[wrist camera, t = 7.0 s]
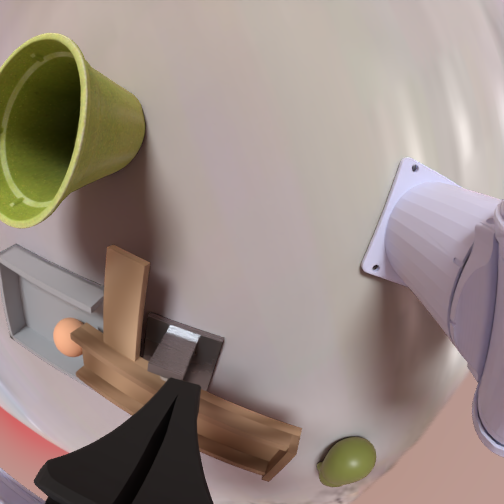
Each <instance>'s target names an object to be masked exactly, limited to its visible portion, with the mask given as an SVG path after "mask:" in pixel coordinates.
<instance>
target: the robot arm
mask: <svg viewBox="0 0 504 504" xmlns="http://www.w3.org/2000/svg"><path fill="white" fill-rule="evenodd" d="M413 165H415V166H416V170H415V172H413V171H412V166H413ZM374 265H378V267H377V269H375V270H372V268H373V266H374ZM361 267H362V269H363V270H364V272H366V273H369V274H372V275H375V276H378V277H381V278H383V279H386V280H389V281H392V282H395V283H398V284H401V285H404V286H406V287H409V288H410V289H411V291H412V292H413V293H414V294H415V295H416V297H417V298H418V299H419V300H420V302H421V303H422V304H423V305H424V306H425V308H426V309H427V310H428V311H429V313H430V314H431V315H432V316H433V318H434V319H435V320H436V322H437V323H438V324H439V325H440V327H441V328H442V329H443V331H444V332H445V333H446V335H447V336H448V337H449V339H450V340H451V341H452V343H453V344H454V345H455V347H456V348H457V350H458V351H459V352H460V354H461V355H462V356H463V358H464V359H465V360H466V361H467V362H468V366H467V367H468V369H469V370H470V372H471V373H472V375H473V376H474V377H475V379H476V381H477V382H478V385H477V388H476V391H475V394H474V398H473V403H472V418H473V424H474V427H475V431H476V432H477V435H478V437H479V439H480V440H481V441H482V443H483V444H484V445H485V446H486V447H487V448H488V449H489V450H490V451H492V452H493V453H495V454H497V455H499V456H501V457H504V199H503V200H501V199H498V198H494V197H491V196H488V195H485V194H482V193H478V192H475V191H471V190H468V189H464V188H462V187H461V186H459V185H457V184H456V183H454V182H453V181H451V180H449V179H448V178H446V177H444V176H443V175H441V174H439V173H437V172H436V171H434V170H432V169H430V168H429V167H427V166H425V165H423V164H421V163H420V162H418V161H416V160H414V159H412V158H409V157H404V158H403V159H402V160H401V161H400V164H399V167H398V170H397V173H396V176H395V179H394V182H393V185H392V188H391V191H390V193H389V196H388V199H387V202H386V204H385V207H384V209H383V212H382V215H381V217H380V220H379V222H378V225H377V227H376V230H375V232H374V235H373V237H372V240H371V242H370V244H369V247H368V249H367V251H366V254H365V256H364V258H363V260H362V263H361ZM200 394H201V386H200V385H198V384H194V383H190V382H186V381H182V380H179V379H175V378H172V377H171V378H168V380H167V381H166V382H165V384H164V385H163V386H162V387H161V388H160V389H159V391H158V392H157V393H156V394H155V395H154V396H153V397H152V398H151V399H150V400H149V401H148V402H147V403H146V404H145V405H144V406H143V407H142V408H141V409H140V410H139V411H137V412H136V413H135V414H134V415H133V416H131V417H130V418H129V419H128V420H127V421H125V422H124V423H123V424H122V425H120V426H119V427H117V428H116V429H115V430H113V431H112V432H110V433H109V434H107V435H105V436H104V437H102V438H100V439H99V440H97V441H95V442H93V443H91V444H89V445H87V446H85V447H83V448H81V449H78V450H76V451H74V452H72V453H69V454H66V455H63V456H61V457H57V458H54V459H50V460H48V461H47V462H46V463H45V465H43V467H42V468H41V469H40V471H39V472H38V474H37V476H36V478H35V479H34V483H35V485H36V486H37V487H38V488H39V489H41V490H42V491H43V492H44V493H45V494H46V495H47V496H48V498H47V500H46V501H44V500H43V499H41V498H40V497H38V496H37V495H35V494H34V493H33V492H31V491H30V490H28V489H27V488H26V487H24V486H23V485H21V484H20V483H19V482H18V481H16V480H15V479H14V478H12V477H11V476H10V475H9V474H8V473H6V472H5V471H4V470H3V469H2V468H0V504H213V501H212V498H211V496H210V492H209V489H208V486H207V482H206V479H205V475H204V471H203V467H202V462H201V457H200V451H199V444H198V434H197V418H198V413H199V405H200Z"/></svg>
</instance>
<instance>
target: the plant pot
mask: <svg viewBox="0 0 504 504" xmlns="http://www.w3.org/2000/svg"><path fill="white" fill-rule="evenodd" d="M144 134H145V121H144V116H143V112H142V107H141V104H140V102H139V100H138V99H137V98H136V97H135V96H134V95H133V94H132V93H130V92H129V91H127V90H126V89H124V88H123V87H121V86H119V85H118V84H116V83H115V82H113V81H112V80H110V79H109V78H107V77H106V76H104V75H103V74H101V73H100V72H98V71H97V70H95V69H93V68H92V67H91V66H90V65H89V63H88V62H87V61H86V60H85V58H84V56H83V54H82V52H81V50H80V49H79V47H78V46H77V45H76V44H75V43H74V42H73V41H72V40H71V39H69V38H68V37H66V36H64V35H61V34H57V33H46V34H41V35H38V36H35V37H33V38H31V39H29V40H28V41H26V42H25V43H24V44H22V45H21V46H20V47H18V48H17V49H16V50H15V51H14V52H13V53H12V54H11V55H10V56H9V57H8V59H7V60H6V61H5V62H4V64H3V65H2V66H1V68H0V220H1V221H2V222H3V223H5V224H7V225H9V226H11V227H14V228H20V229H21V228H29V227H32V226H35V225H37V224H39V223H41V222H42V221H44V220H45V219H47V218H48V217H49V216H50V215H51V214H52V213H53V212H54V211H55V210H56V209H57V207H58V206H59V205H60V204H61V202H62V201H63V200H64V199H65V198H66V197H67V196H68V195H69V194H70V193H71V192H73V191H75V190H77V189H79V188H81V187H83V186H85V185H87V184H90V183H92V182H94V181H96V180H98V179H100V178H103V177H105V176H108V175H110V174H112V173H115V172H117V171H119V170H120V169H122V168H124V167H125V166H126V165H127V164H129V163H130V162H131V161H132V159H133V158H134V157H135V155H136V154H137V152H138V150H139V149H140V146H141V144H142V141H143V138H144Z"/></svg>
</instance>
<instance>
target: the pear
mask: <svg viewBox="0 0 504 504" xmlns="http://www.w3.org/2000/svg"><path fill="white" fill-rule="evenodd" d="M375 462H376V451H375V448H374V446H373V445H372V444H371V443H370V442H369V441H368V440H366V439H364V438H360V437H350V438H346V439H343V440H341V441H339V442H337V443H336V444H335V445H334V446H333V447H332V448H331V449H330V451H329V452H328V454H327V455H326V457H325V459H324V461H323V462H320V463H318V464H317V470H318V471H319V479H320V481H321V483H322V484H324V485H326V486H329V487H339V486H342V485H346V484H350V483H353V482H356V481H359V480H361V479H363V478H364V477H366V476H367V475H368V474H369V473H370V472H371V470H372V469H373V467H374V465H375Z"/></svg>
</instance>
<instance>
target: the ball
mask: <svg viewBox="0 0 504 504" xmlns="http://www.w3.org/2000/svg"><path fill="white" fill-rule="evenodd" d="M82 325H83V323H82V322H81V321H80V320H78V319H75V318H64V319H62V320H60V321H59V322H58V323H57V325H56V326H55V328H54V332H53V339H54V343H55V345H56V347H57V348H58V350H59V351H60V352H61V353H63V354H64V355H66V356H69V357H78V356H80V355H82V354H83V353H82V347H80V346H79V345H78V344H76V343H75V342H74V341H73V340H71V337H70V333H71V332H73V331H74V330H76V329H77V328H79V327H80V326H82Z"/></svg>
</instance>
